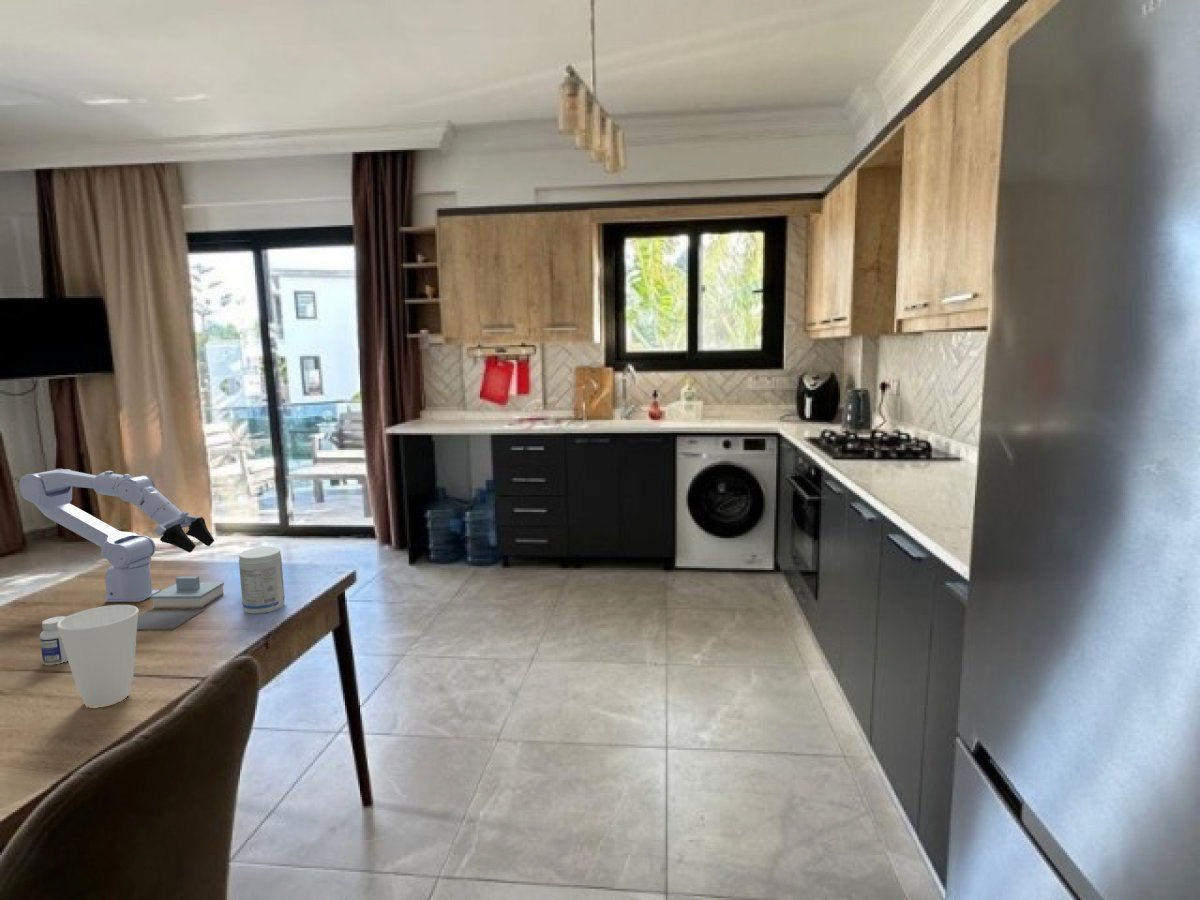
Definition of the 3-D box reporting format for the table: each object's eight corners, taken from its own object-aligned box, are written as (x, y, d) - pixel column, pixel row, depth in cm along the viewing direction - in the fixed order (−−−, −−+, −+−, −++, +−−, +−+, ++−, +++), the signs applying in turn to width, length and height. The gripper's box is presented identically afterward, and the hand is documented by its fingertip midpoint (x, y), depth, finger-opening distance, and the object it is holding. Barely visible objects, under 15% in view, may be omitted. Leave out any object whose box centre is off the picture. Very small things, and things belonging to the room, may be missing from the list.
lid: (151, 598, 164) (149, 584, 163) (177, 584, 174) (176, 571, 173) (200, 598, 164) (199, 584, 163) (223, 584, 174) (222, 570, 173)
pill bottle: (67, 652, 139) (62, 613, 138) (81, 657, 137) (76, 617, 135) (37, 663, 134) (32, 622, 133) (51, 668, 132) (46, 626, 131)
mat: (114, 630, 150) (114, 629, 150) (148, 611, 162) (148, 610, 162) (172, 630, 150) (172, 628, 150) (202, 611, 162) (202, 610, 162)
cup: (55, 722, 112) (45, 634, 110) (78, 690, 123) (69, 610, 121) (138, 707, 117) (129, 622, 114) (153, 678, 127) (145, 600, 125)
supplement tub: (255, 600, 169) (251, 546, 167) (291, 601, 169) (288, 546, 167) (234, 615, 160) (230, 557, 158) (273, 615, 159) (268, 557, 157)
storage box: (153, 608, 164) (152, 598, 164) (178, 594, 174) (177, 584, 174) (200, 608, 164) (200, 598, 164) (223, 594, 174) (222, 584, 174)
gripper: (152, 504, 161) (193, 540, 161) (190, 496, 175) (228, 529, 175) (134, 525, 161) (176, 561, 161) (174, 515, 175) (212, 548, 176)
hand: (202, 546), depth 168 cm, fingers open, 7 cm apart
